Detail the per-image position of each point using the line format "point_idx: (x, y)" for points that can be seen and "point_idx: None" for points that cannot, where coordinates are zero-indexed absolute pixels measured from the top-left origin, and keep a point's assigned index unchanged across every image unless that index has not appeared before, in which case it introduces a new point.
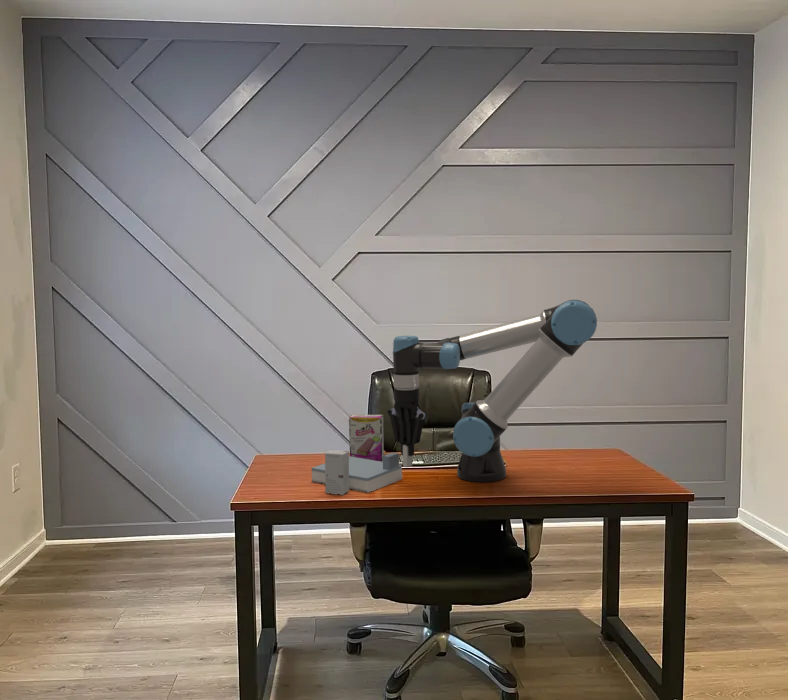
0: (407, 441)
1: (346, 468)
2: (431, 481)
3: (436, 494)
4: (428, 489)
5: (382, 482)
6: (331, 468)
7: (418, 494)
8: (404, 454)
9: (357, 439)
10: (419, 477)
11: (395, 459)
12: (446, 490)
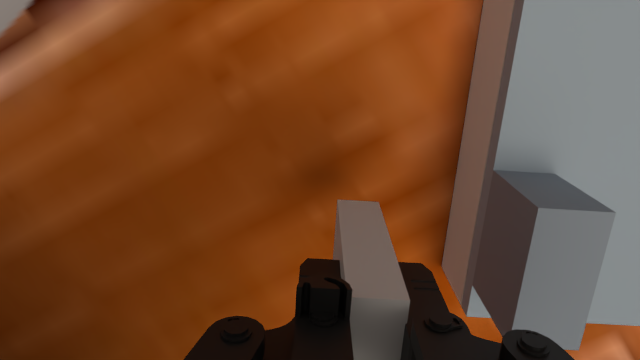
0: (342, 338)
1: None
2: (261, 302)
3: (84, 99)
4: (187, 164)
5: (483, 71)
6: None
7: (179, 44)
8: (374, 247)
9: None
10: None
11: (500, 278)
12: (84, 196)
